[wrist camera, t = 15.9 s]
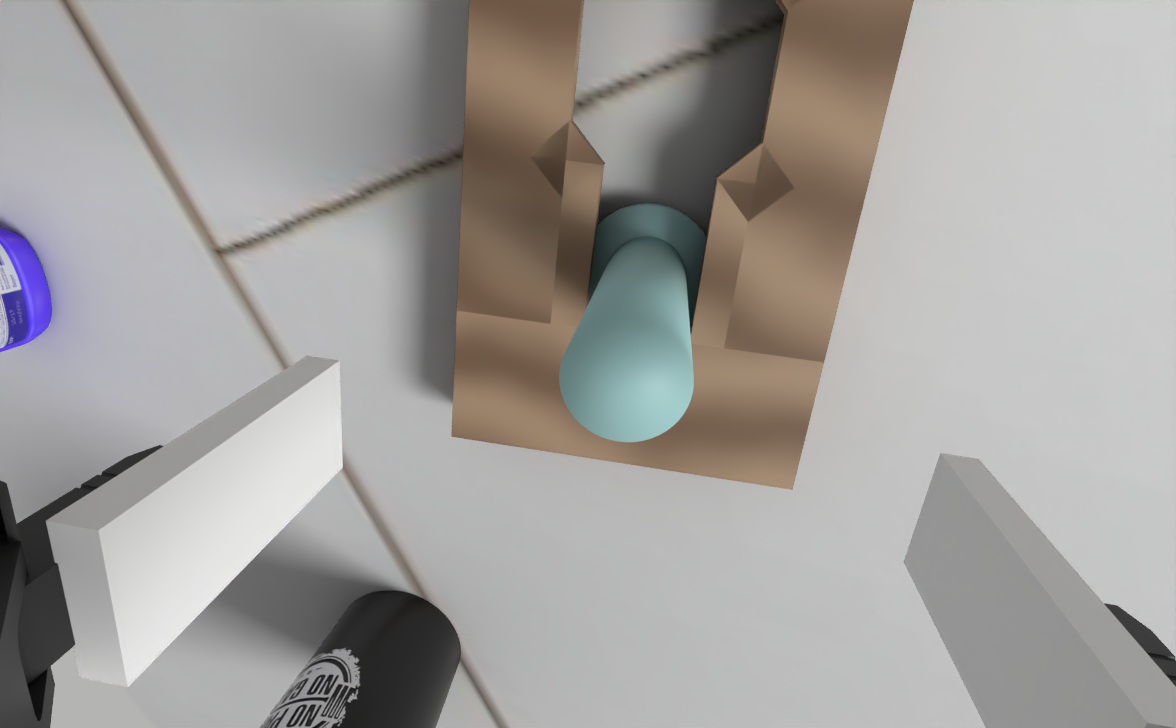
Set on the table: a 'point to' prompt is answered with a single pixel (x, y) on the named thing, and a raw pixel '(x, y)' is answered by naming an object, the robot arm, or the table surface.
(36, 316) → the bottle
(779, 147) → the keyhole board
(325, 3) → the table surface
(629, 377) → the peg
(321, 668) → the water bottle
